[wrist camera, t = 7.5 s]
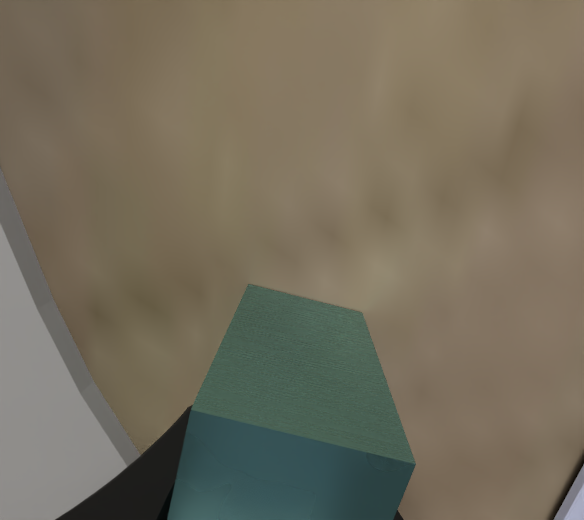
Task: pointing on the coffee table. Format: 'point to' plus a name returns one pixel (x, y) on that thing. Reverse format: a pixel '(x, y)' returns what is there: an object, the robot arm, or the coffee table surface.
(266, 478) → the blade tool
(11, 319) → the kitchen cleaver
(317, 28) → the coffee table surface
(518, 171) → the coffee table surface
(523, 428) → the coffee table surface
